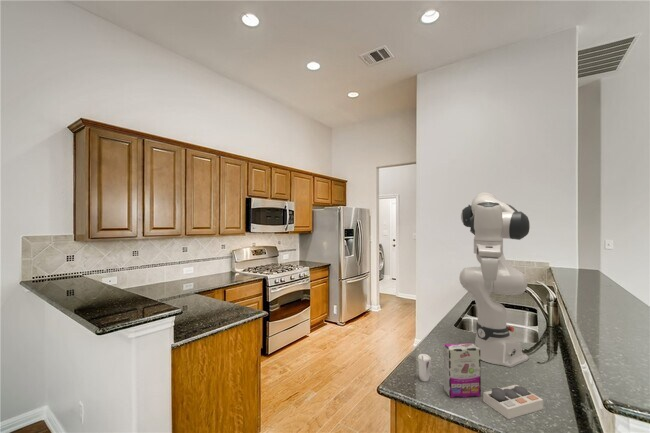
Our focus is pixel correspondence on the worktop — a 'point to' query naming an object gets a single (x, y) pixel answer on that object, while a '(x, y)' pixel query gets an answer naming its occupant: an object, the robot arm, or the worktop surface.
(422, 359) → the milkshake
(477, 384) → the candy bar box
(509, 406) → the button board
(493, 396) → the button
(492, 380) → the worktop surface
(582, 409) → the worktop surface
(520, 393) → the button
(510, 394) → the button middle
